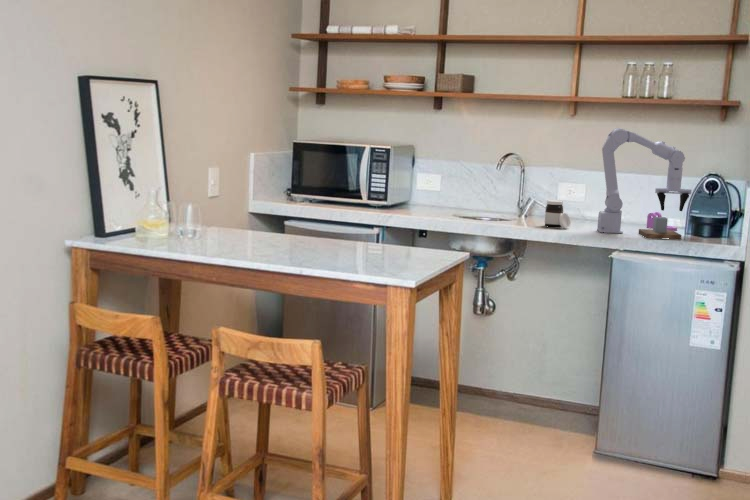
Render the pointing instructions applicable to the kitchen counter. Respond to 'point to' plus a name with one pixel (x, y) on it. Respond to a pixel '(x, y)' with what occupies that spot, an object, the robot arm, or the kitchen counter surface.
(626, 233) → the kitchen counter surface
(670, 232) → the walnut board
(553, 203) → the spread jar
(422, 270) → the kitchen counter surface
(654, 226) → the slate block
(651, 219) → the bracket
